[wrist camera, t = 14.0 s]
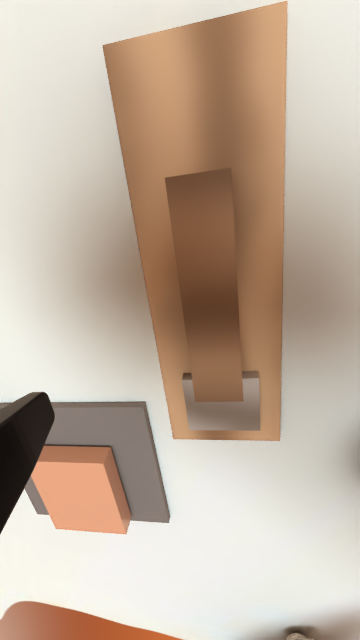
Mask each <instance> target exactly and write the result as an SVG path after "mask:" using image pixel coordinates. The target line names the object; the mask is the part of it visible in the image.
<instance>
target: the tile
mask: <svg viewBox="0 0 360 640" xmlns="http://www.w3.org/2000/svg"><path fill="white" fill-rule="evenodd" d="M31 477H32V479H33V481H34V484H35V486H36V488H37V490H38V492H39V494H40V496H41V498H42V500H43V502H44V504H45V507H46V509H47V511H48V513H49V515H50V517H51V519H52V521H53V523H54V525H55V528H56V529H64V530H77V531H90V532H103V533H116V534H126V533H127V530H128V526H129V523H130V519H131V514H130V510H129V507H128V504H127V500H126V497H125V494H124V490H123V487H122V484H121V480H120V477H119V474H118V470H117V467H116V464H115V460H114V457H113V454H112V451H111V447H80V446H44V447H43V449H42V452H41V454H40V457H39V459H38V461H37V464H36V466H35V468H34V470H33V472H32V474H31Z"/></svg>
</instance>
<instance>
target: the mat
mask: <svg viewBox="0 0 360 640" xmlns="http://www.w3.org/2000/svg"><path fill="white" fill-rule="evenodd" d="M9 404H11V403H0V409H1V408H3V407H5V406H7V405H9ZM51 405H52V407H53V410H54V413H55V419H54V423H53V425H52V428H51V430H50V432H49V435H48V437H47V440H46V442H45V445H44V446H80V447H111V451H112V454H113V457H114V460H115V464H116V467H117V470H118V474H119V477H120V480H121V484H122V487H123V490H124V494H125V497H126V500H127V504H128V507H129V510H130V514H131V519H130V520H133V521H147V522H162V523H169V519H170V515H169V510H168V505H167V501H166V496H165V492H164V487H163V483H162V478H161V473H160V469H159V464H158V460H157V455H156V450H155V446H154V441H153V437H152V432H151V428H150V423H149V418H148V414H147V409H146V405H145V402H87V403H51ZM25 490H26V492H27V494H28V496H29V498H30V500H31V502H32V504H33V506H34V508H35V510H36V512H37V514H44V515H49V513H48V511H47V509H46V507H45V504H44V502H43V500H42V498H41V496H40V494H39V492H38V490H37V488H36V486H35V484H34V481H33V479H32V477H31V476H30V478H29V480H28V482H27V484H26V486H25Z"/></svg>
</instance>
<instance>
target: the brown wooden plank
mask: <svg viewBox="0 0 360 640" xmlns="http://www.w3.org/2000/svg"><path fill="white" fill-rule="evenodd" d="M165 184H166V192H167V199H168V206H169V214H170V221H171V228H172V236H173V243H174V250H175V258H176V265H177V272H178V280H179V287H180V295H181V302H182V309H183V317H184V324H185V331H186V339H187V346H188V353H189V361H190V368H191V373H183V377H182V385H183V392H184V398H185V405H186V411H187V418H188V424H189V430H240V431H260V390H259V374H258V371H242V362H241V343H240V324H239V305H238V285H237V266H236V247H235V228H234V209H233V190H232V171H231V168H225V169H218V170H212V171H205V172H199V173H192V174H185V175H179V176H172V177H166V178H165Z"/></svg>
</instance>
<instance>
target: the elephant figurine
mask: <svg viewBox="0 0 360 640" xmlns="http://www.w3.org/2000/svg"><path fill="white" fill-rule="evenodd" d="M286 640H316V639H309V638H308V637H306V636H304V635H302V634H301V633H292V634H290V635H288V637H287V638H286Z"/></svg>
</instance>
